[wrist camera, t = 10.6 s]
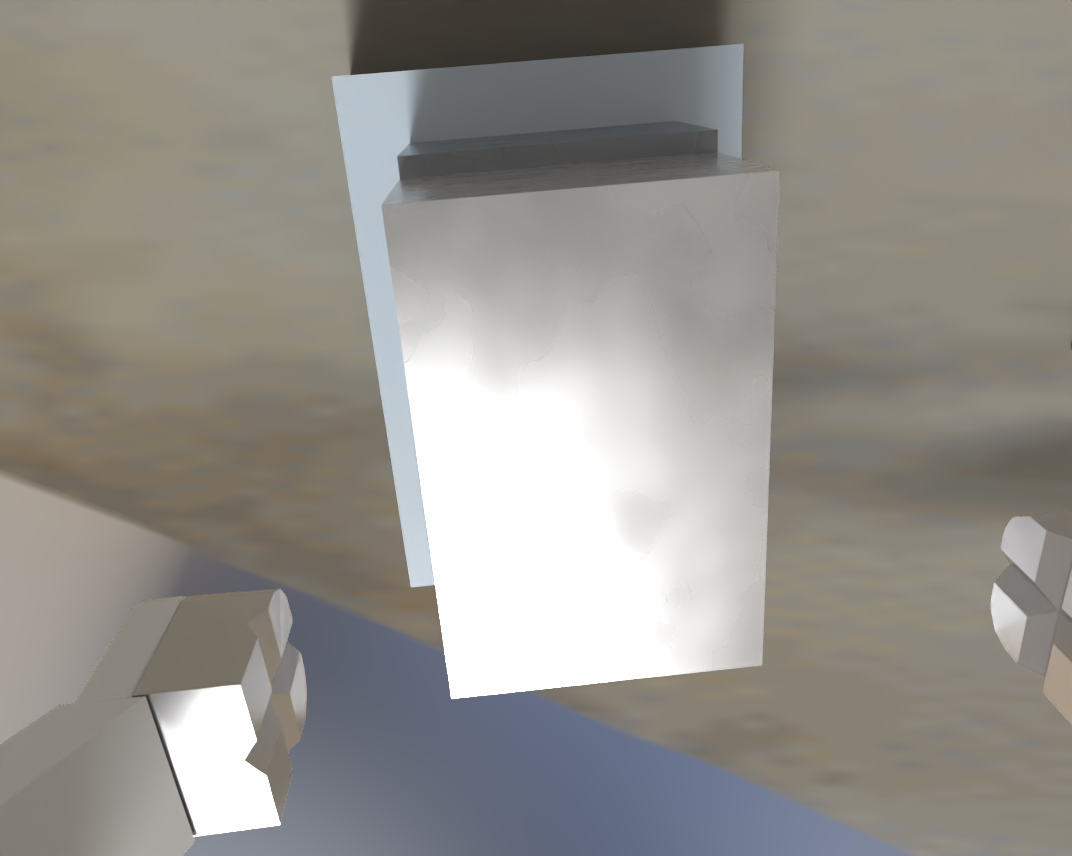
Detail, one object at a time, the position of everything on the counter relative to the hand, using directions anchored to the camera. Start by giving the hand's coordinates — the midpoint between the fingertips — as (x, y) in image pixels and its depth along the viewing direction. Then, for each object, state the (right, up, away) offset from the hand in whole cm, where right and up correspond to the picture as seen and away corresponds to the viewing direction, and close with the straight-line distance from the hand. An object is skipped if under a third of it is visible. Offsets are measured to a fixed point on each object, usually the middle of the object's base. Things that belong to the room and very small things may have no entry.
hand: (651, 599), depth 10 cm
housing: (-1, +4, +11) cm, 12 cm away
